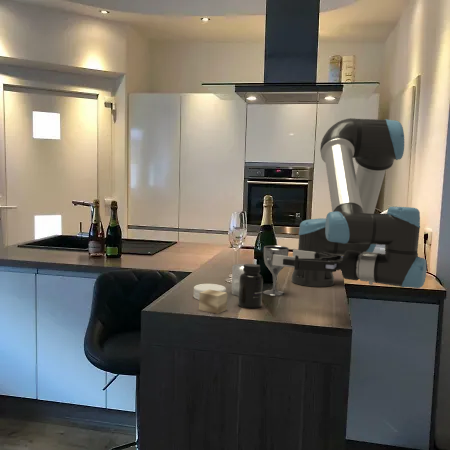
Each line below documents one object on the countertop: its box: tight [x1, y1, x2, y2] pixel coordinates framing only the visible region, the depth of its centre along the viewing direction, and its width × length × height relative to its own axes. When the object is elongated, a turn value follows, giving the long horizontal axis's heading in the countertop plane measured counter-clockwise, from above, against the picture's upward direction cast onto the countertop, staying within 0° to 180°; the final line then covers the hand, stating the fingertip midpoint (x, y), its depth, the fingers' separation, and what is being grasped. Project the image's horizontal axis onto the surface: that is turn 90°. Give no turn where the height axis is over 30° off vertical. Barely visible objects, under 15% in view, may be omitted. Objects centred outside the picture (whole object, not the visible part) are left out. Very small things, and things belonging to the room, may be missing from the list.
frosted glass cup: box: [231, 263, 245, 297], centre depth 157 cm, size 7×7×9 cm
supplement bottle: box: [237, 263, 264, 309], centre depth 143 cm, size 7×7×12 cm
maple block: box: [198, 289, 228, 315], centre depth 137 cm, size 6×5×5 cm
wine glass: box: [262, 245, 289, 297], centre depth 160 cm, size 8×8×15 cm
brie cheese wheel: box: [192, 283, 227, 301], centre depth 151 cm, size 10×10×4 cm
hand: (283, 256), depth 136 cm, fingers open, 13 cm apart
